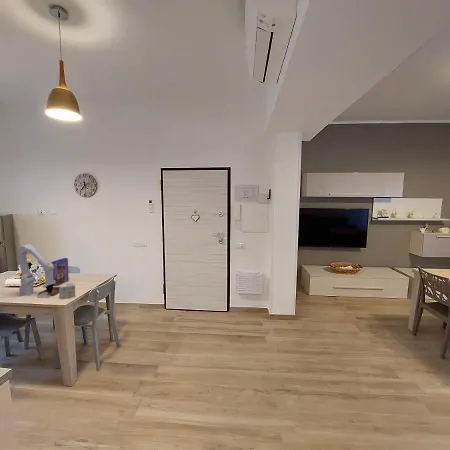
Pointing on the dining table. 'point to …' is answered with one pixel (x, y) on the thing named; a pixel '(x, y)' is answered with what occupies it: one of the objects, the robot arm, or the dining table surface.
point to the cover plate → (45, 295)
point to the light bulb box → (67, 291)
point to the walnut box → (55, 290)
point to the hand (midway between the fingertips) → (49, 293)
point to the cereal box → (60, 271)
